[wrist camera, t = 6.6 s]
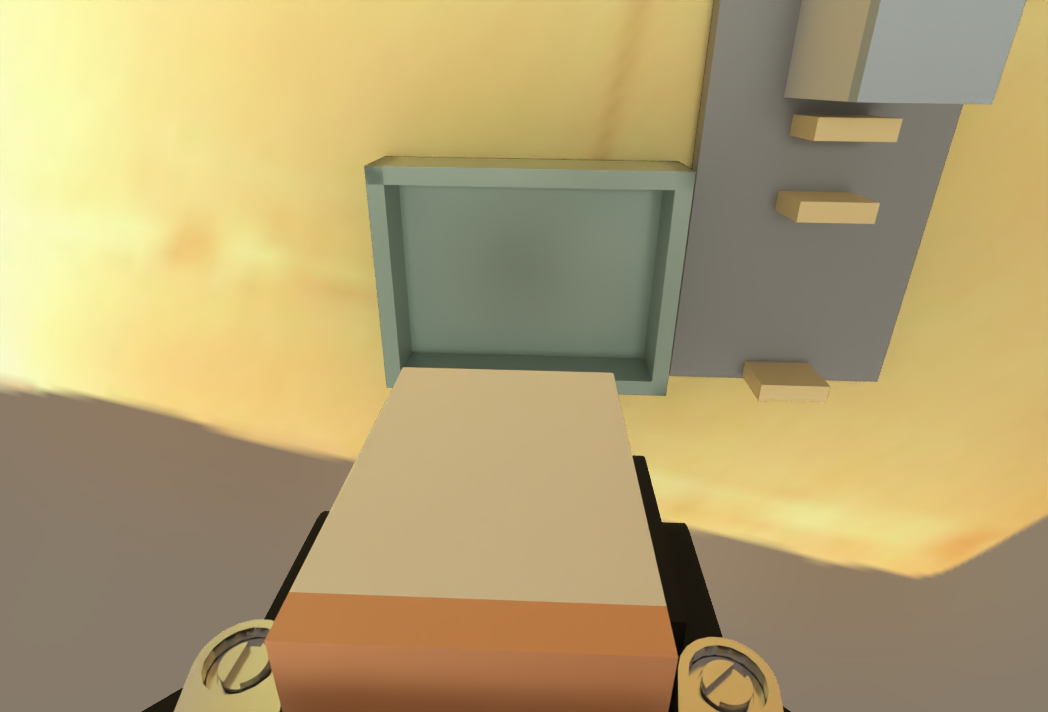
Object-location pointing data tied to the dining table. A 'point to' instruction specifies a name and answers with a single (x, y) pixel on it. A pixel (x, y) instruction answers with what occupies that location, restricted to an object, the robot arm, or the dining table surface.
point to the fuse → (482, 559)
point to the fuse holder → (821, 179)
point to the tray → (530, 264)
